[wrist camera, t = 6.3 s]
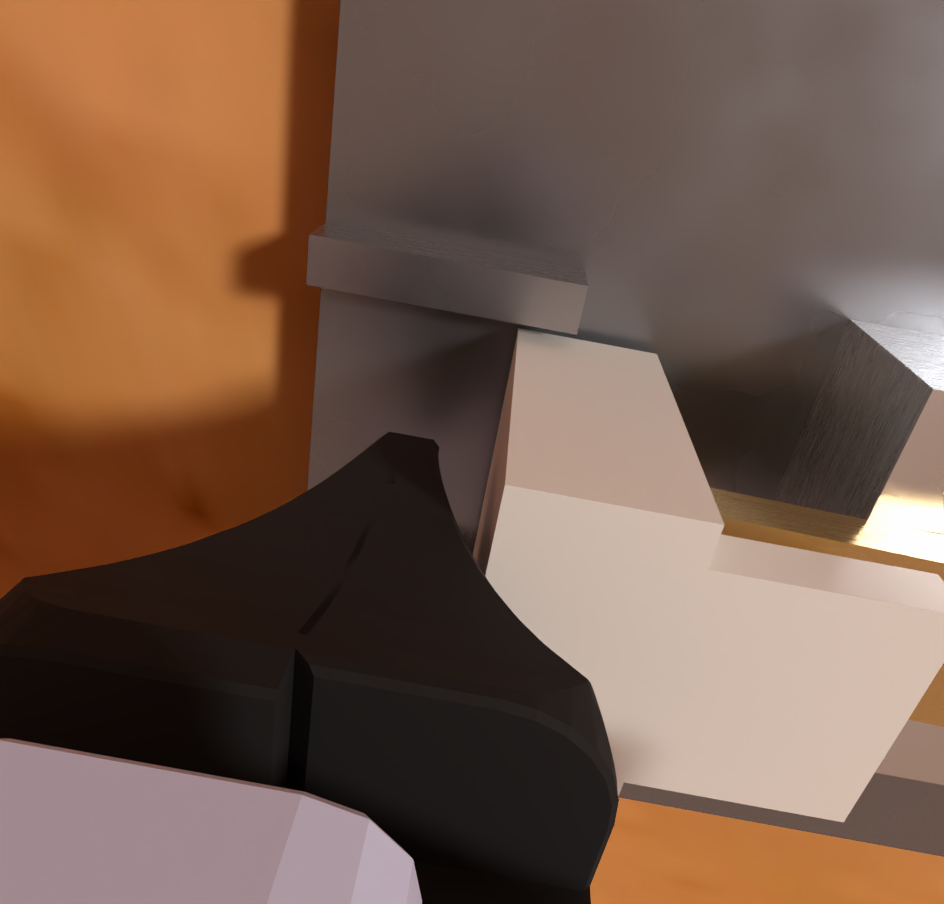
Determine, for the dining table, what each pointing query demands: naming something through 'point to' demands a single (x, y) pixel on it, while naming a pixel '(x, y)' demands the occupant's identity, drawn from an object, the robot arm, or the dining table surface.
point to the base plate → (654, 257)
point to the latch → (691, 596)
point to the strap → (840, 551)
